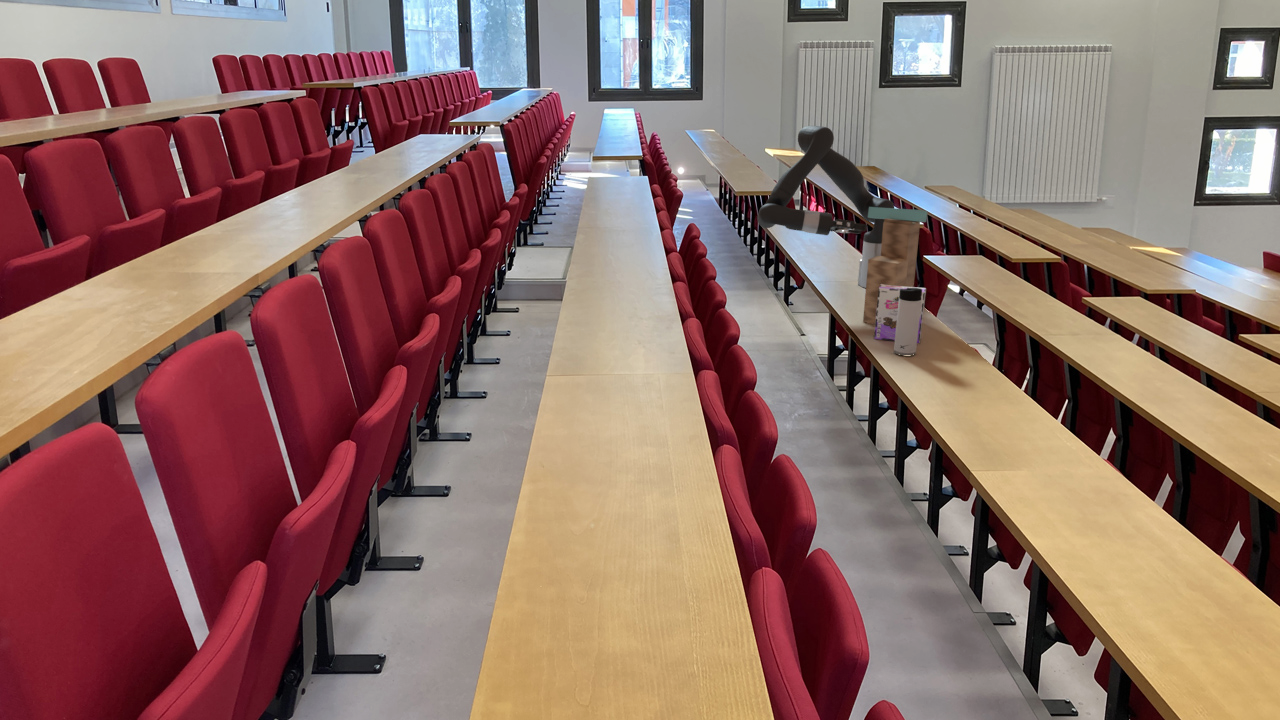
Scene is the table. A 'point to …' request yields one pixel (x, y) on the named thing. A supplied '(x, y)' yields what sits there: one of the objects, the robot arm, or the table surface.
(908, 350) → the travel mug
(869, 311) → the wooden block
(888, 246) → the tall stand
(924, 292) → the candy box
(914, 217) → the light blue rectangular bar
